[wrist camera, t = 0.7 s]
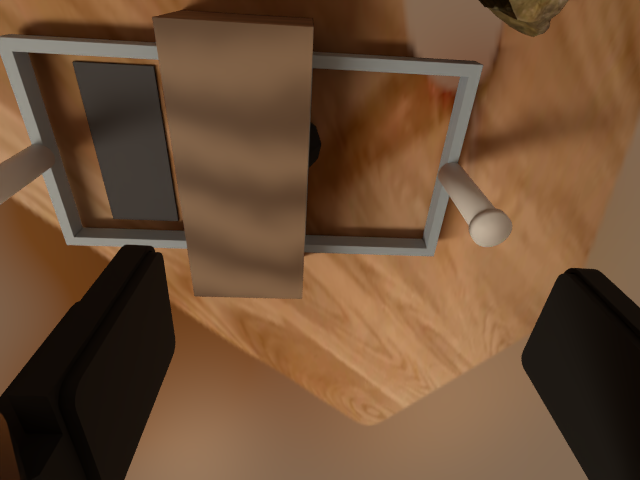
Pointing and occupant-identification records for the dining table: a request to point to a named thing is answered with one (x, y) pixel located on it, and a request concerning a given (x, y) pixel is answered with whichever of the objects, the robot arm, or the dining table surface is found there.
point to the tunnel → (239, 146)
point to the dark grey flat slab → (128, 138)
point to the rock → (526, 13)
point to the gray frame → (451, 178)
